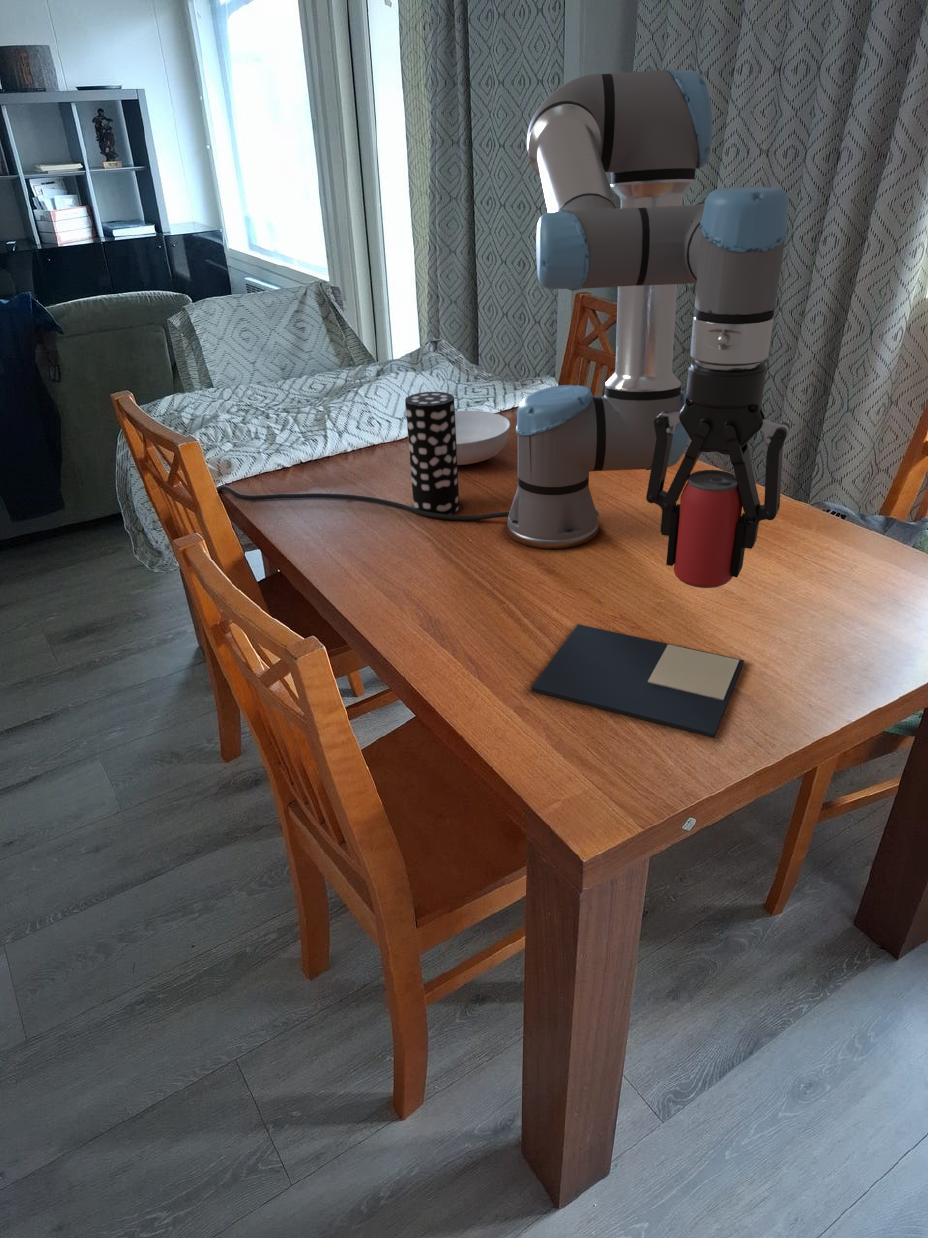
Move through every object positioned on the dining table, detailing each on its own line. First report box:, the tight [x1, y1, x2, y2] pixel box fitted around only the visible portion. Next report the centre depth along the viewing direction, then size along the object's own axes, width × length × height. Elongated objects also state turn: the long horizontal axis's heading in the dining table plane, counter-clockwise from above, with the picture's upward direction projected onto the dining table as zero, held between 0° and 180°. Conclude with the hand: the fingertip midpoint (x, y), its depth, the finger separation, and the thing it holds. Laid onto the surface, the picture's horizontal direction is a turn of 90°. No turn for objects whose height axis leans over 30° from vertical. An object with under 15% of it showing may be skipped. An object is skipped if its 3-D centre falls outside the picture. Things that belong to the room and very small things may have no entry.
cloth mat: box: [530, 624, 745, 739], centre depth 102 cm, size 22×16×1 cm
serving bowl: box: [455, 410, 511, 466], centre depth 170 cm, size 21×21×7 cm
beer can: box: [673, 469, 743, 589], centre depth 92 cm, size 7×7×12 cm
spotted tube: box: [404, 391, 460, 517], centre depth 145 cm, size 8×8×20 cm
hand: (704, 565), depth 94 cm, fingers closed on beer can, 6 cm apart
